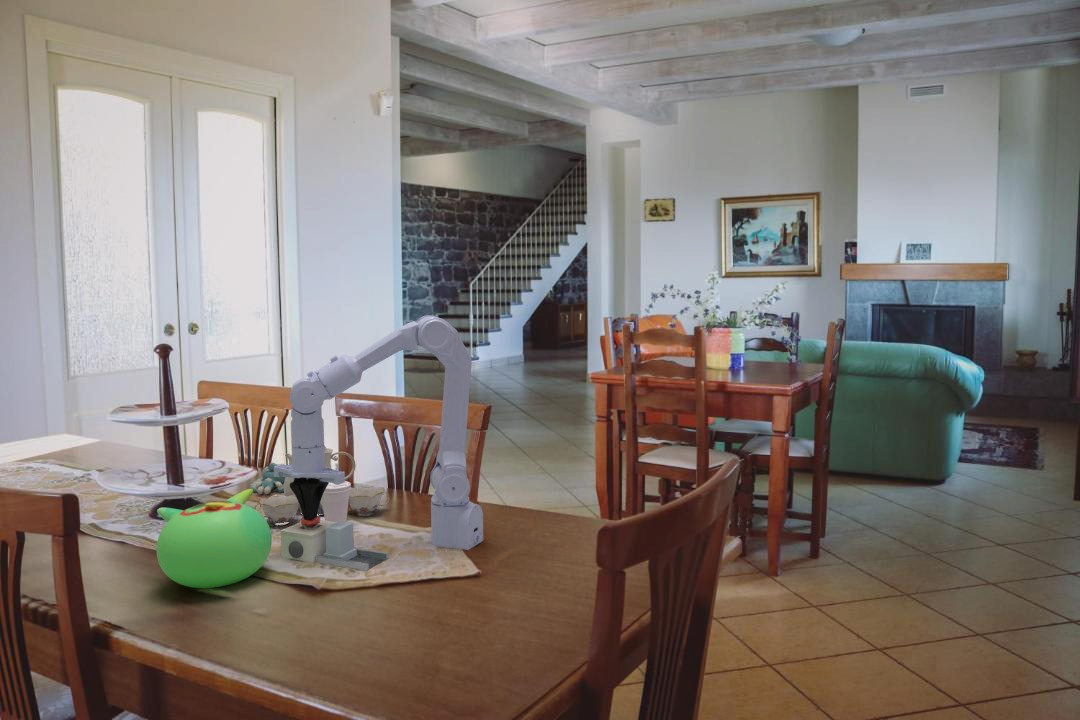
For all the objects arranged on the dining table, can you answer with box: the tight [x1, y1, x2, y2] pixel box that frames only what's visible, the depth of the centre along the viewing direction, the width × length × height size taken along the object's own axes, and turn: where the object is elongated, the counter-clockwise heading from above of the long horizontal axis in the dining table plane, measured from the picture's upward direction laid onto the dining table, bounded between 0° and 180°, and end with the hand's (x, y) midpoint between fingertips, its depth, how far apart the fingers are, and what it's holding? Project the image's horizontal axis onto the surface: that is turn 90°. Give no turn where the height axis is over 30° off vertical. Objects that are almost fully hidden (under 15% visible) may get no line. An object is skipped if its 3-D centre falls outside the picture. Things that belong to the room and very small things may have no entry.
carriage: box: [323, 521, 357, 560], centre depth 151 cm, size 4×4×6 cm
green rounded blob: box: [156, 488, 273, 589], centre depth 141 cm, size 18×17×15 cm
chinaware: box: [253, 444, 390, 523], centre depth 180 cm, size 28×17×17 cm, turn 118°
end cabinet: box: [280, 519, 337, 564], centre depth 153 cm, size 7×8×6 cm
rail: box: [314, 546, 390, 572], centre depth 150 cm, size 11×7×2 cm, turn 66°
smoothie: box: [321, 462, 352, 522], centre depth 169 cm, size 6×6×14 cm
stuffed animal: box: [249, 462, 286, 495], centre depth 201 cm, size 11×7×12 cm
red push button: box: [300, 516, 321, 530], centre depth 153 cm, size 3×3×5 cm
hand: (310, 518), depth 153 cm, fingers closed, pressing on red push button
